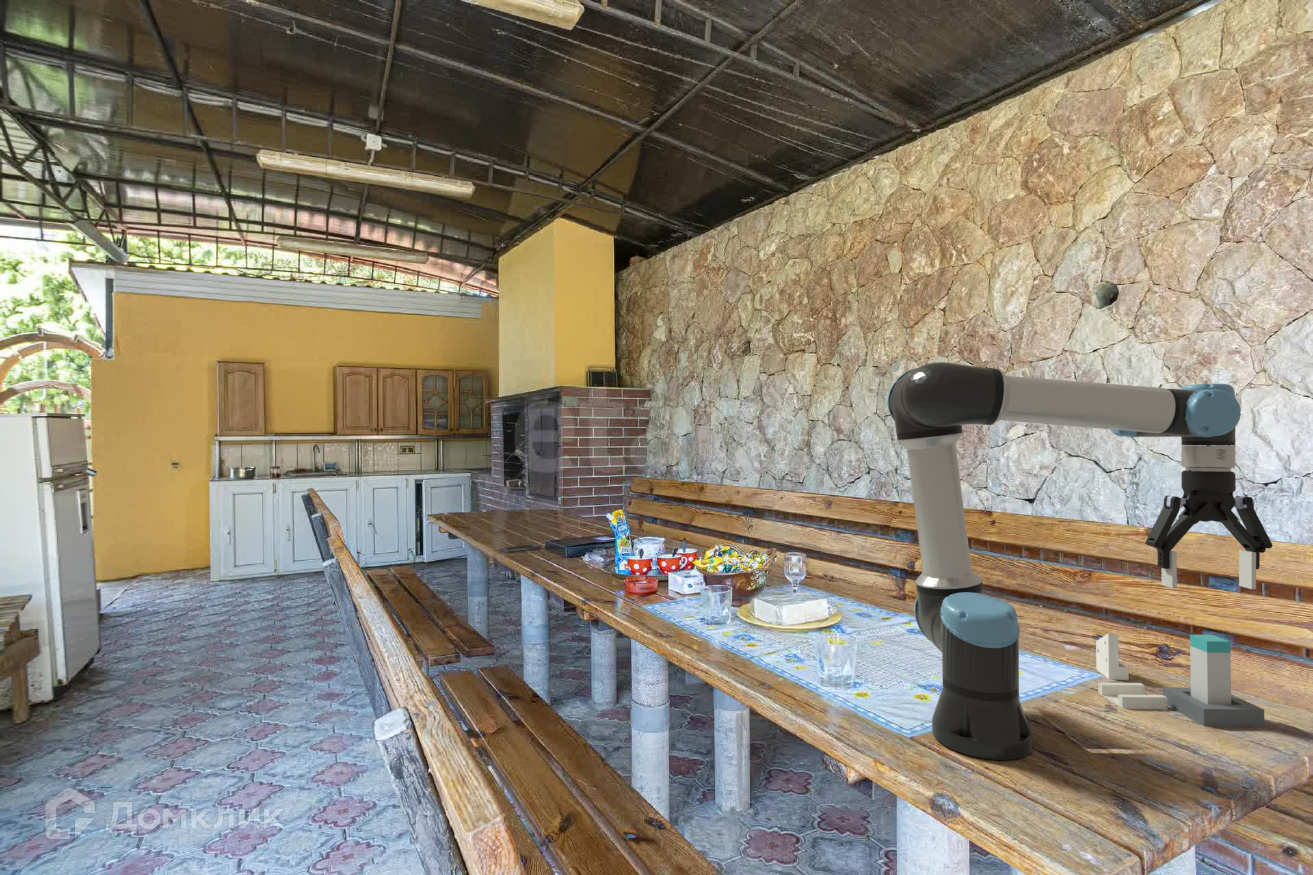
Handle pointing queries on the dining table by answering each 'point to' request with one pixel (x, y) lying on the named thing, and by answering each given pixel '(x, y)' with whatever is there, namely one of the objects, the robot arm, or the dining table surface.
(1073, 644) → the dining table surface
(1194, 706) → the block
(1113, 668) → the white l-shaped bracket
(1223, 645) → the plug
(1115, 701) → the white low u-shaped block
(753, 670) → the dining table surface
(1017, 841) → the dining table surface
